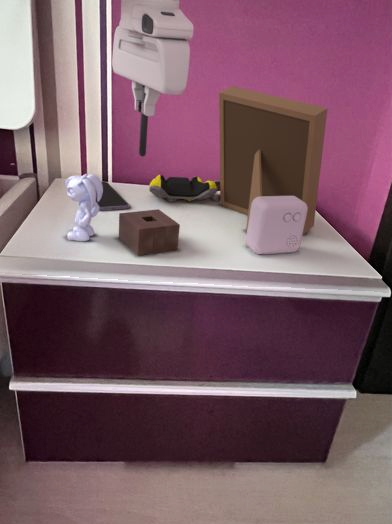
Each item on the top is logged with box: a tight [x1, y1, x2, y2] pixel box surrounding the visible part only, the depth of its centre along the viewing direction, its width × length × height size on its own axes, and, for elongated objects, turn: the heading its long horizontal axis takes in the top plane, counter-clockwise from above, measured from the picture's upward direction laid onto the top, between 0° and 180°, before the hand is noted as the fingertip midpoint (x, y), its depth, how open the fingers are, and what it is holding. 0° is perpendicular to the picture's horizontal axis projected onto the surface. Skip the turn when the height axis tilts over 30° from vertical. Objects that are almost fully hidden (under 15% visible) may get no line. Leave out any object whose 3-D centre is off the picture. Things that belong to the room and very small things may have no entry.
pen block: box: [118, 208, 181, 257], centre depth 103 cm, size 8×8×5 cm
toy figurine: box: [64, 173, 103, 242], centre depth 101 cm, size 7×6×12 cm
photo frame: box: [218, 85, 328, 236], centre depth 114 cm, size 15×22×25 cm
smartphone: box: [95, 180, 129, 211], centre depth 123 cm, size 7×1×15 cm
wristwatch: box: [210, 180, 220, 202], centre depth 132 cm, size 4×6×5 cm
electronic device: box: [245, 196, 308, 255], centre depth 106 cm, size 10×5×10 cm, turn 111°
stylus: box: [138, 85, 149, 158], centre depth 95 cm, size 1×1×14 cm
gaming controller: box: [148, 174, 218, 202], centre depth 127 cm, size 15×6×10 cm
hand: (144, 113), depth 94 cm, fingers closed on stylus, 1 cm apart
